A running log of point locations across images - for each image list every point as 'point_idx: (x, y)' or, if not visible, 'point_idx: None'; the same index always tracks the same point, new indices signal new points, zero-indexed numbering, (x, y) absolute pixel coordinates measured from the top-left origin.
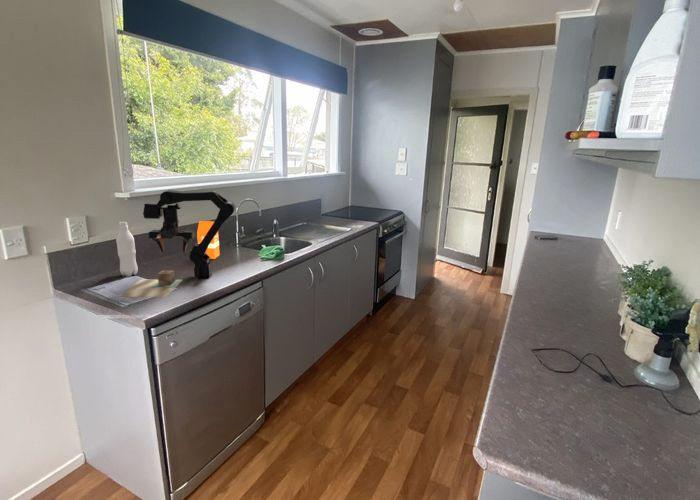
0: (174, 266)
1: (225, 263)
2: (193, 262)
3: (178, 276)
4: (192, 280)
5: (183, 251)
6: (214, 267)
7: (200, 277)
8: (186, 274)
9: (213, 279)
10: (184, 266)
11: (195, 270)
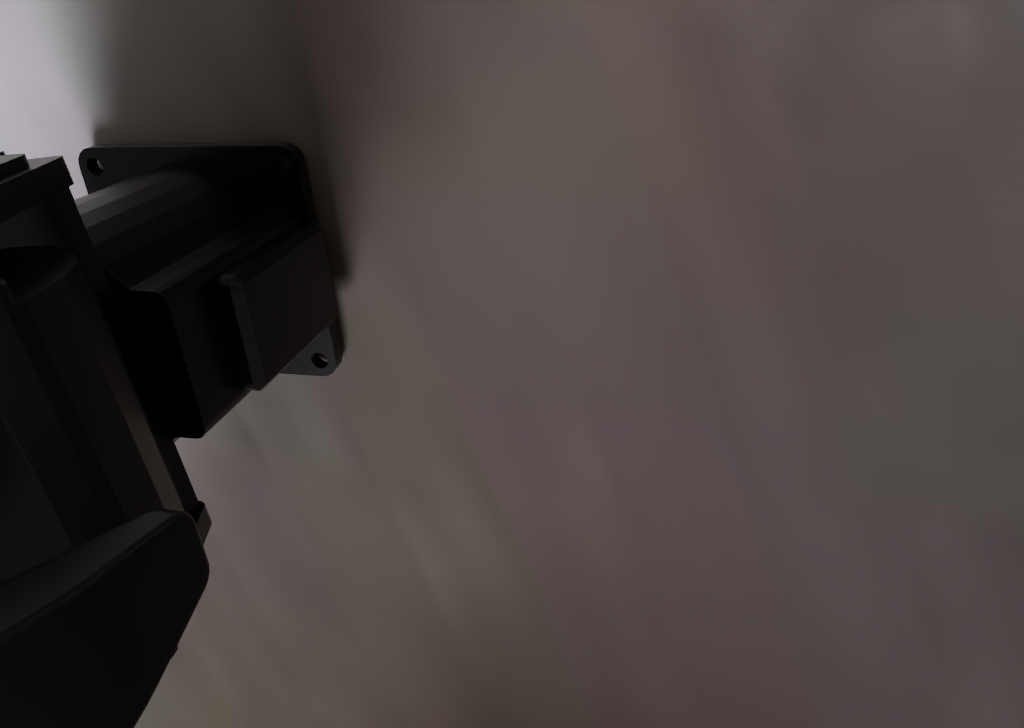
0: (847, 722)
1: (226, 717)
2: (5, 180)
3: (628, 271)
4: (296, 53)
5: (141, 534)
6: (275, 611)
7: (198, 156)
8: (528, 368)
9: (13, 121)
10: (691, 700)
11: (229, 244)
